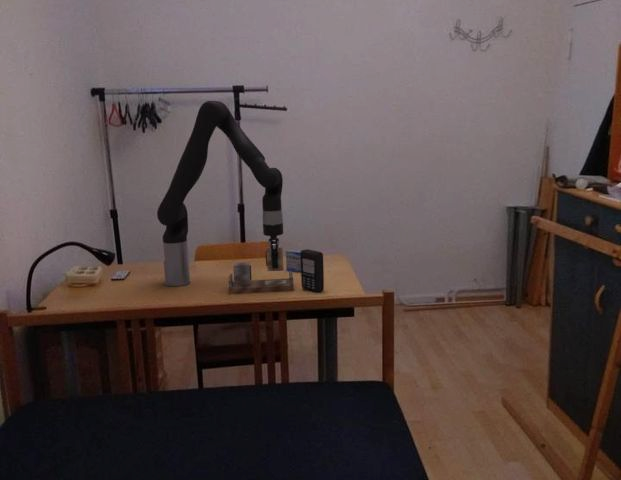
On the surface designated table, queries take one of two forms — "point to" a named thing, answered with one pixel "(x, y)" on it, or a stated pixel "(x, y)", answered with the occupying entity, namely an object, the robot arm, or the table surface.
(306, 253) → the card reader
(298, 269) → the medicine box
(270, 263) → the finger block
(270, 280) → the rail
